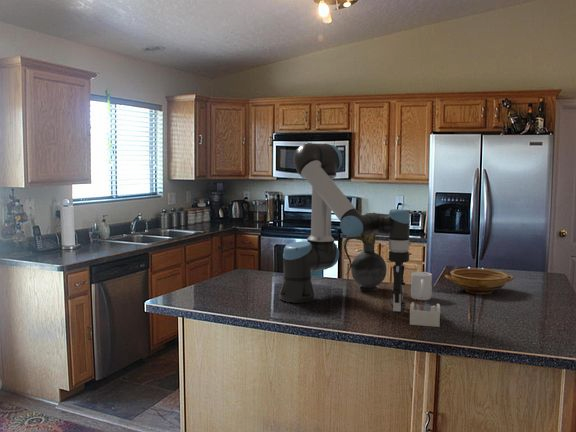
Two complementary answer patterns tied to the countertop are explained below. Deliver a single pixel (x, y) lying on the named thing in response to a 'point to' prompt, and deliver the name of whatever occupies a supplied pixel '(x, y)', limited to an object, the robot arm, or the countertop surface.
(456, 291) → the countertop surface
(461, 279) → the ceramic bowl
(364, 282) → the pitcher
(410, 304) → the clip
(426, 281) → the mug
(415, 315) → the end holder
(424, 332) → the countertop surface
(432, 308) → the clip
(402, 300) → the grey tapered rounded piece
